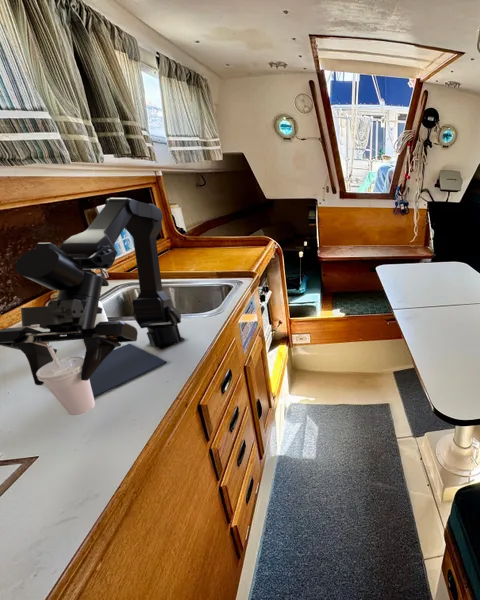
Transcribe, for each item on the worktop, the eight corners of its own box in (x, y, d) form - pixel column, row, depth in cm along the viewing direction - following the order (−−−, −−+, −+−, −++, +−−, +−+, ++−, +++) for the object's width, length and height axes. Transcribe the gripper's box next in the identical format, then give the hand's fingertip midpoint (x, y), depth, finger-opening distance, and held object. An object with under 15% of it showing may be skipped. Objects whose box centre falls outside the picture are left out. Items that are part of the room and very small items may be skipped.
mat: (130, 344, 92) (129, 343, 92) (167, 362, 85) (166, 361, 85) (44, 379, 78) (43, 377, 77) (80, 404, 70) (79, 402, 70)
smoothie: (50, 424, 57) (13, 358, 51) (69, 400, 62) (37, 338, 56) (96, 415, 59) (65, 351, 53) (110, 393, 64) (84, 333, 59)
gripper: (-27, 286, 52) (-59, 384, 47) (108, 280, 56) (93, 369, 51) (32, 308, 62) (12, 391, 57) (143, 302, 66) (133, 378, 61)
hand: (61, 382), depth 56 cm, fingers closed on smoothie, 6 cm apart
